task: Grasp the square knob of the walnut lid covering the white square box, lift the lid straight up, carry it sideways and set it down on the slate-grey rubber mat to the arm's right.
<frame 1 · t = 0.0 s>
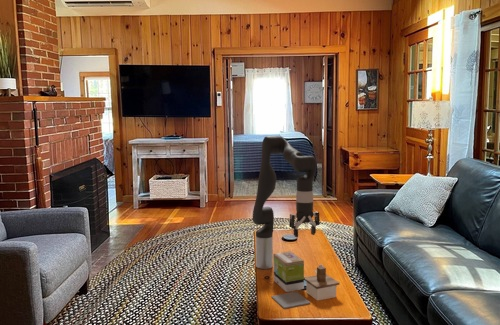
hand: (304, 235, 199), 29 cm above the table, fingers open, 8 cm apart
mat: (290, 300, 200), on the table
white square box: (321, 294, 206), on the table
tea box: (288, 285, 217), on the table
lid: (321, 282, 205), point 6 cm above the table, touching white square box
architectural model: (320, 280, 225), on the table
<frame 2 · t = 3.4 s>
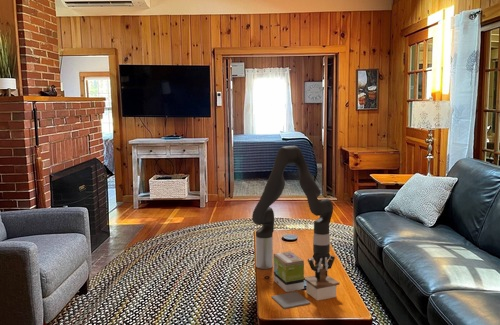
hand: (321, 278, 205), 8 cm above the table, fingers closed on lid, 3 cm apart
lid: (321, 282, 205), point 6 cm above the table, touching white square box, gripper
everything else where it was.
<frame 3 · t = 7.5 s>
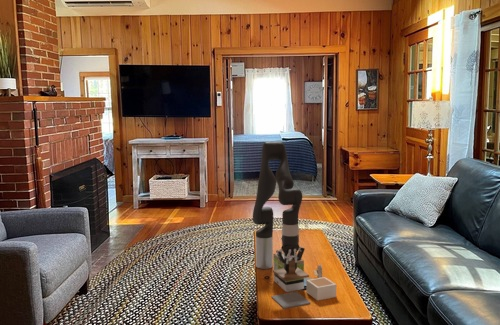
hand: (290, 270, 198), 14 cm above the table, fingers closed on lid, 3 cm apart
lid: (290, 274, 198), point 12 cm above the table, touching gripper
when the fingers open (4 cm above the table, at t = 10.0 s): lid drops 1 cm, resting on mat.
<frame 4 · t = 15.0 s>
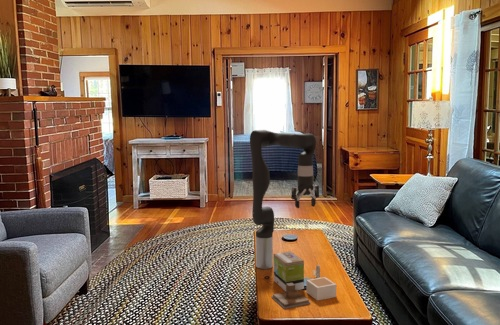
hand: (305, 207, 217), 38 cm above the table, fingers open, 8 cm apart
lid: (290, 299, 200), point 1 cm above the table, touching mat
at the end: lid inside the target area on the mat (0.0 cm from its centre), point 0.6 cm above the mat's base; lid touching mat; lid tilted 0° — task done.
